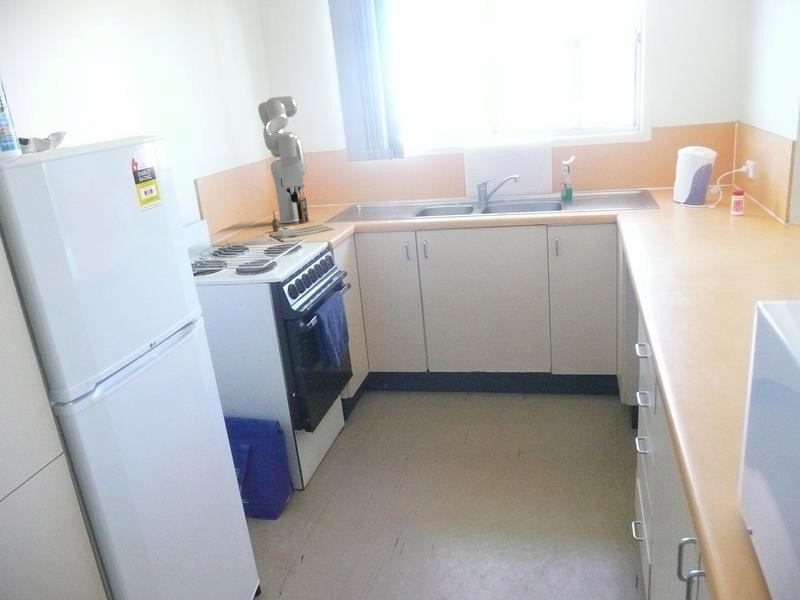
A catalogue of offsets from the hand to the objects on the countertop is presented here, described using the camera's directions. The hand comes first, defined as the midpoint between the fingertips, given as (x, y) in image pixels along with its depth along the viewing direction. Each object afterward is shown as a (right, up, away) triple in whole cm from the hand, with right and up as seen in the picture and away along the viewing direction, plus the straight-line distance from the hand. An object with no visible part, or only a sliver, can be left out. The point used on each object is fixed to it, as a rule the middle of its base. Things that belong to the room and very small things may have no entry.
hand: (295, 202), depth 304 cm
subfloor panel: (+3, -14, +3) cm, 15 cm away
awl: (-10, -13, +10) cm, 20 cm away
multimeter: (+4, -7, +28) cm, 29 cm away
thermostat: (-3, -15, -2) cm, 16 cm away
